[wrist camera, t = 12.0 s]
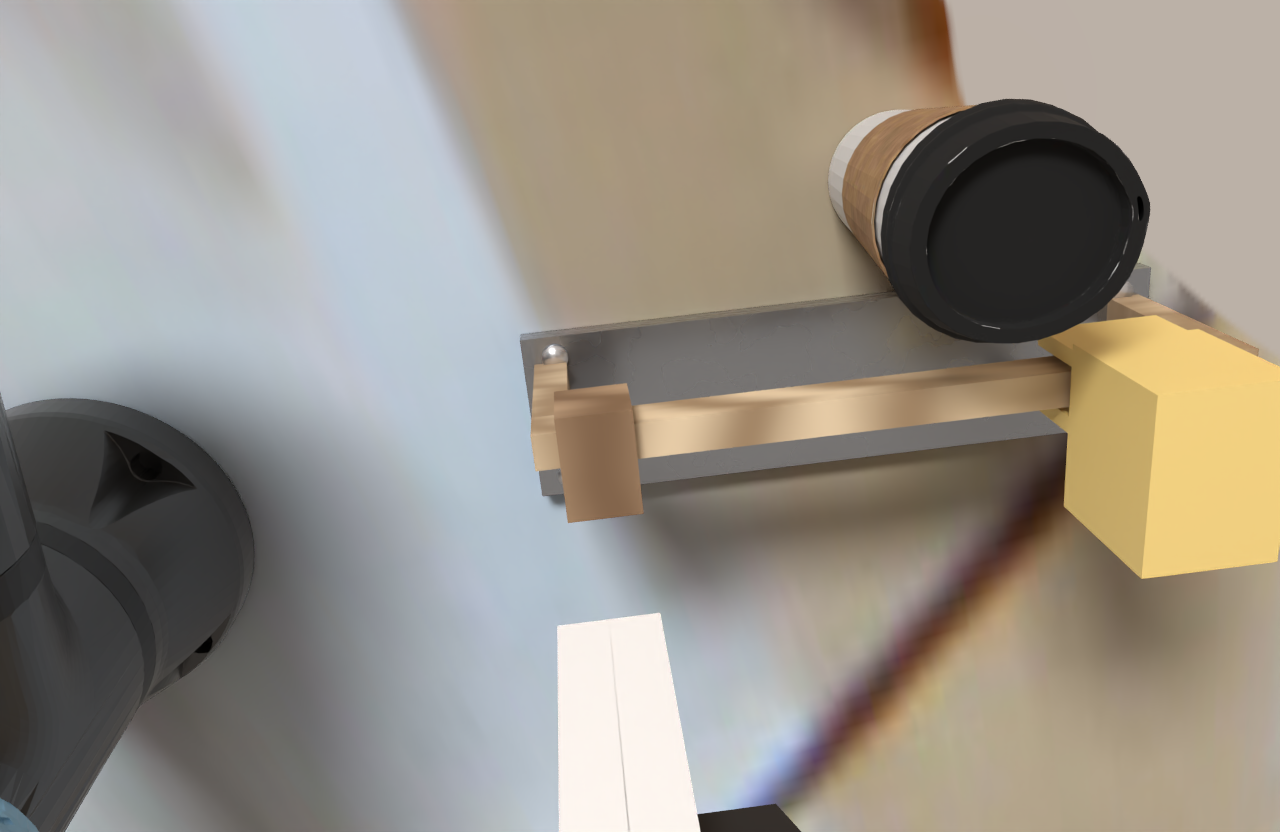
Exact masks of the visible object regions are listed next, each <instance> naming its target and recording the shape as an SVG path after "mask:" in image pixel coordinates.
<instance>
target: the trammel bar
mask: <svg viewBox="0 0 1280 832" xmlns="http://www.w3.org/2000/svg"><path fill="white" fill-rule="evenodd" d="M1152 315H1157V316H1159V317H1161V318H1163V319H1165V320H1167V321H1169V322H1171V323H1173V324H1176V325H1178V326H1180V327H1182V328H1184V329H1186V330H1194V329H1200V330H1202V331H1204V332H1206V333H1208V334H1210V335H1212V336H1215V337H1217V338H1219V339H1221V340H1223V341H1225V342H1227V343H1230V344H1232V345H1234V346H1236V347H1238V348H1240V349H1242V350H1245V351H1247V352H1249V353H1251V354H1253V355H1255V356H1257V357H1258V351H1259V349H1258V348H1255V347H1253V346H1251V345H1249V344H1247V343H1244V342H1242V341H1240V340H1238V339H1236V338H1233V337H1231V336H1229V335H1227V334H1225V333H1222V332H1220V331H1218V330H1216V329H1214V328H1211V327H1209V326H1207V325H1205V324H1203V323H1200V322H1198V321H1196V320H1194V319H1192V318H1189V317H1187V316H1185V315H1183V314H1181V313H1178V312H1176V311H1174V310H1172V309H1170V308H1167V307H1165V306H1163V305H1161V304H1159V303H1157V302H1154V301H1152V300H1150V299H1148V298H1146V297H1143V296H1141V295H1139V294H1137V295H1132V296H1131V297H1122V298H1114V299H1112V300H1111V301H1110V302H1109V303H1108V306H1107V320H1106V321H1110V320H1118V319H1127V318H1135V317H1144V316H1152ZM1071 369H1072V367H1071V366H1069V365H1068V364H1066V363H1065V362H1063V361H1062V360H1060V359H1059V358H1057V357H1056V356H1047V357H1039V358H1030V359H1022V360H1014V361H1005V362H997V363H988V364H980V365H971V366H963V367H955V368H946V369H938V370H929V371H921V372H912V373H904V374H896V375H887V376H879V377H870V378H862V379H853V380H845V381H837V382H828V383H820V384H811V385H803V386H794V387H786V388H778V389H769V390H761V391H752V392H744V393H735V394H727V395H719V396H710V397H702V398H693V399H685V400H676V401H668V402H660V403H651V404H643V405H634V406H632V405H631V400H630V396H629V391H628V386H627V383H623V384H615V385H606V386H598V387H589V388H581V389H572V390H570V385H569V378H568V370H567V363H566V362H565V363H557V364H548V365H544V364H537V365H534V382H533V401H532V419H531V442H532V449H533V456H534V463H535V470H536V471H543V470H551V469H559V468H561V475H562V482H563V490H564V497H565V504H566V512H567V519H568V523H572V522H580V521H588V520H597V519H605V518H613V517H621V516H629V515H637V514H644V513H643V504H642V494H641V485H640V476H639V466H638V459H642V458H651V457H659V456H667V455H675V454H684V453H692V452H700V451H708V450H717V449H725V448H733V447H742V446H750V445H758V444H766V443H775V442H783V441H791V440H800V439H808V438H816V437H824V436H833V435H841V434H849V433H858V432H866V431H874V430H882V429H891V428H899V427H907V426H916V425H924V424H932V423H940V422H949V421H957V420H965V419H974V418H982V417H990V416H998V415H1007V414H1015V413H1023V412H1031V411H1040V410H1048V409H1056V408H1065V407H1069V405H1070V387H1071Z"/></svg>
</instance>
